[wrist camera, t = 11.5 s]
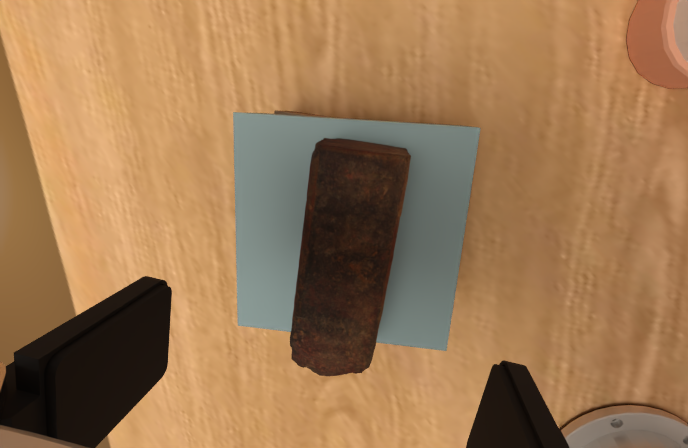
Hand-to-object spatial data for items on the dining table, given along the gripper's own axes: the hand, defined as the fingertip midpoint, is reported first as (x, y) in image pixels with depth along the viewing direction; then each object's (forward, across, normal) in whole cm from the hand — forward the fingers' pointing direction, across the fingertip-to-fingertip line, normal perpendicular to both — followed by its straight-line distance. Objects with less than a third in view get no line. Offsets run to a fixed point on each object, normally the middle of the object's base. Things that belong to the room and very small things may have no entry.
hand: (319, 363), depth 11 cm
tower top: (+15, +1, -1) cm, 15 cm away
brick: (+10, 0, 0) cm, 10 cm away
